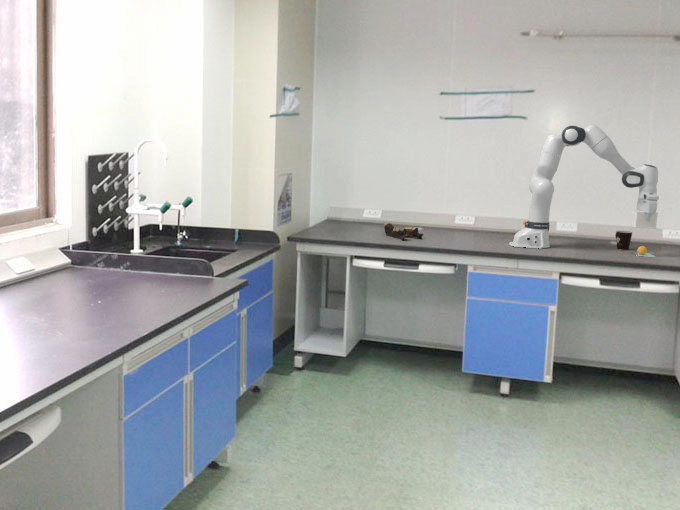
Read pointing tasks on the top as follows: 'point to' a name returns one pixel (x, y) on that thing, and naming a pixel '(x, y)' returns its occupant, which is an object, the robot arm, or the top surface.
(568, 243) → the top surface
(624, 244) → the coffee mug
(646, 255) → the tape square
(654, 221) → the white rectangular block
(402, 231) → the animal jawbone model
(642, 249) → the ball
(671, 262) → the top surface
